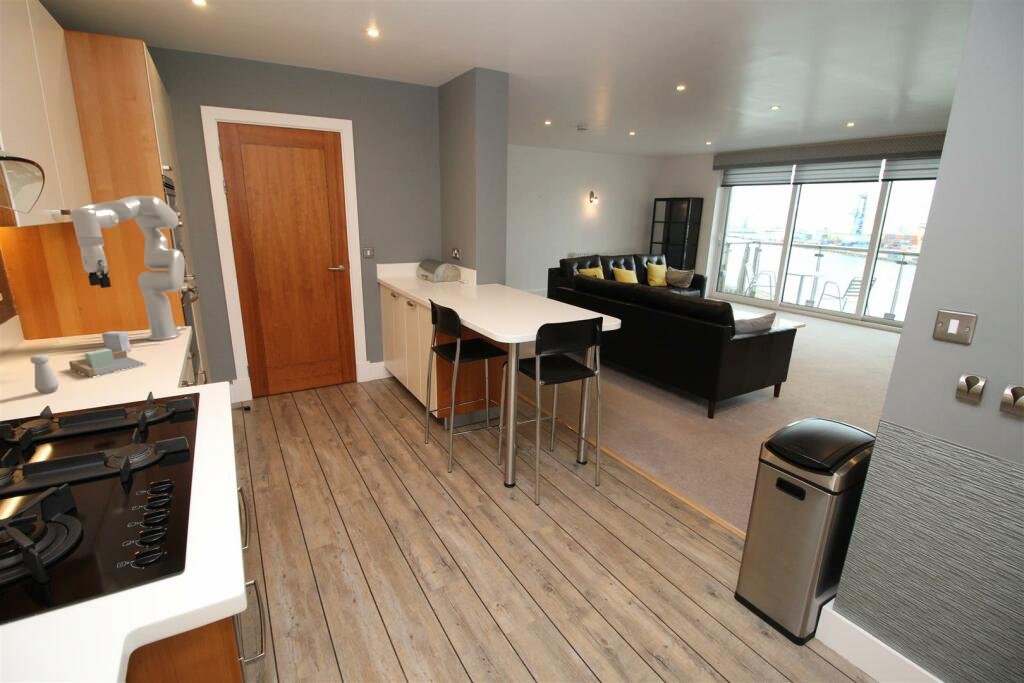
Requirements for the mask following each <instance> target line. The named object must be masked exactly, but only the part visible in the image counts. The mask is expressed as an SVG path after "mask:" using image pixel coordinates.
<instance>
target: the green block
mask: <svg viewBox="0 0 1024 683" xmlns="http://www.w3.org/2000/svg"><path fill="white" fill-rule="evenodd" d="M84 355H85V358H86V360H87V364H88V367H91V368H93V369H99V368H103V367H108V366H112V365H115V362H114V358H113V353H112V350H110V349H105V348H103V349H96V350H92V351H88V352H84Z"/></svg>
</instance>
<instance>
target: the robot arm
mask: <svg viewBox="0 0 1024 683" xmlns="http://www.w3.org/2000/svg"><path fill="white" fill-rule="evenodd" d="M71 219H72V222H73V227H74V230H75V234H76V235H75V236H76V239H77V244H78V247H79V248H80V256H81V261H82V267H83V270H84V271H85V272H87V278H88V282H89V286H91V287H93V286H94V287H95V286H100V288H101V289H103V288H104V289H106V288H111V287H112V284H111V280H110V274H109V268H108V262H107V257H106V254H105V251H104V248H103V247H104V246H105V243H104V239H103V234H102V233H103V232H102V230H101V229H102V228H103V229H109V228H110V229H111V228H114V227H116V226H117V225H118V224H119V223H120V222H127V221H130V220H132V219H134V220H135V222H136V224H137V226H138V227H139V229H140V231H141V232H142V234H143V236H144V239H145V242H144V243H145V246H144V254H143V263H144V265H145V267H146V268H148V269H149V270H148V271H143V272H141V273H140V274H139V275H138V276H137V284H138V286H139V289H140V291H141V293H142V294H141V295H142V296H143V301H144V304H145V310H146V314H147V320H148V321H147V322H148V324H149V325H148V326H149V331H150V335H148V336H147V339H148V340H149V341H166V340H172V339H175V338H176V339H177V338H178V337H180V336H181V335H180V332H181V331H186V330H187V326H185V325H183V326H176V325H175V322H174V318H173V313H172V307H171V302H170V299H169V297H168V295H167V294H166V293H167V292H168V293H170V292H174V293H175V292H179V291H181V290H182V288H183V287H184V281H185V268H186V266H185V265H186V264H185V263H186V262H185V261H186V260H185V257H184V254H183V253H182V251H180V250H179V249H177V248H168V247H169V245H168V244H169V240H168V238H167V236H166V235H165V234H164V233H163V232H161V230H163V229H164V230H166V229H170V230H171V229H176V228H177V227H178V225H179V216H178V215H177V213H176V212H175V211H174V210H173V209H172V208H171V206H169V205H168V204H167V203H166V202H164V200H162V198H160V197H157V196H155V195H131V196H127V197H122V198H119V199H117V200H116V199H115V200H111V201H105V202H98V203H93V204H87V205H83V206H81V207H80V206H79V207H77V208H75V209H72V210H71ZM160 229H161V230H160ZM161 270H162V271H161Z"/></svg>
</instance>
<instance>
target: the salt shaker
mask: <svg viewBox="0 0 1024 683" xmlns="http://www.w3.org/2000/svg"><path fill="white" fill-rule="evenodd" d="M49 359H50V358H49V356H48V355H47V354H43V353H42V354H36V355H32V356H31V357H30V362H31V363H32V365H33V364H34V388H35V390H36V391H38V393H39V394H40V395H48V394H52V393H55V392H56V391H58V388H59V381H58V379H57V377H56V376H55V373H54V372H53V371H52V369H51V366H50V365H49V363H48V361H49Z"/></svg>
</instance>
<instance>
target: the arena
mask: <svg viewBox="0 0 1024 683" xmlns="http://www.w3.org/2000/svg"><path fill="white" fill-rule="evenodd" d="M113 358H114V362H115V365H112V366H108V367H103V368H99V369H93V368H91V367H88V364H87V360H86V357H84V358H79V359H74V360H70V361H68V364H69V367H70V368H69V369H70V370H71V369H73V370H75V371H77V372H76V373H78V372H80V373H82V374H84V375H86V376H88V377H87V378H89V377H92V378H94V377H93V376H97V375H101V376H103V375H102V374H105V375H107V374H106V373H110V372H114V371H118V370H122V369H127V368H130V367H135V366H139V365H143V364H146V365H147V363H145V362H142V361H140V360H137V359H135V358H131V357H129V356H128V352H126V351H125V350H123V351H118V352H113ZM135 368H136V367H135ZM73 370H72V371H73ZM127 370H128V369H127ZM75 371H74V372H75ZM118 372H119V371H118ZM80 373H79V374H80ZM114 373H115V372H114ZM82 374H81V375H82ZM110 374H111V373H110ZM84 375H83V376H84ZM86 376H85V377H86ZM97 377H98V376H97Z"/></svg>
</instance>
